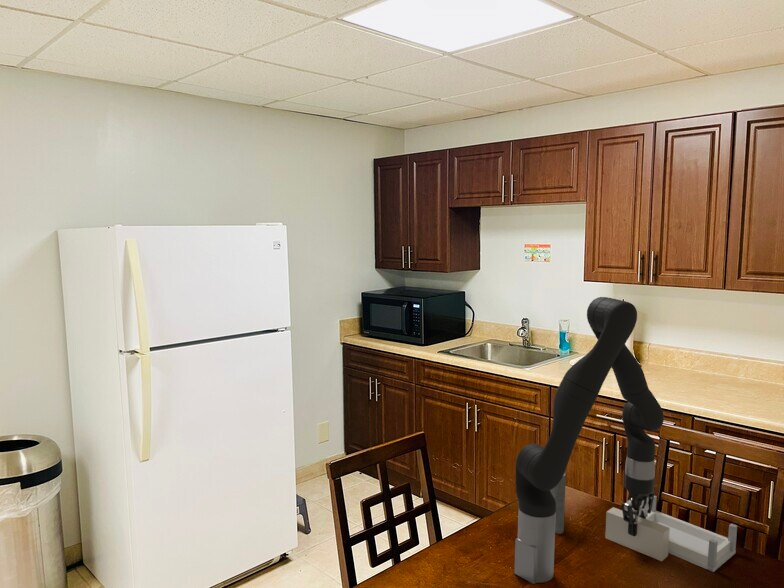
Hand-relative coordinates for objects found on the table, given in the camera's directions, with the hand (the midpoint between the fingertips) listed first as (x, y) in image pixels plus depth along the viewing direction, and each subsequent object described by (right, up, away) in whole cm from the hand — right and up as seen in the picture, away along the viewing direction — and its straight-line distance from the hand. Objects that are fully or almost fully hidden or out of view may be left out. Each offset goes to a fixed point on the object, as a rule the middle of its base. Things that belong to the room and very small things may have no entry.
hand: (636, 531), depth 164 cm
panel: (0, -4, 0) cm, 4 cm away
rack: (+13, -4, +2) cm, 14 cm away
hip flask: (-20, -3, +15) cm, 25 cm away
